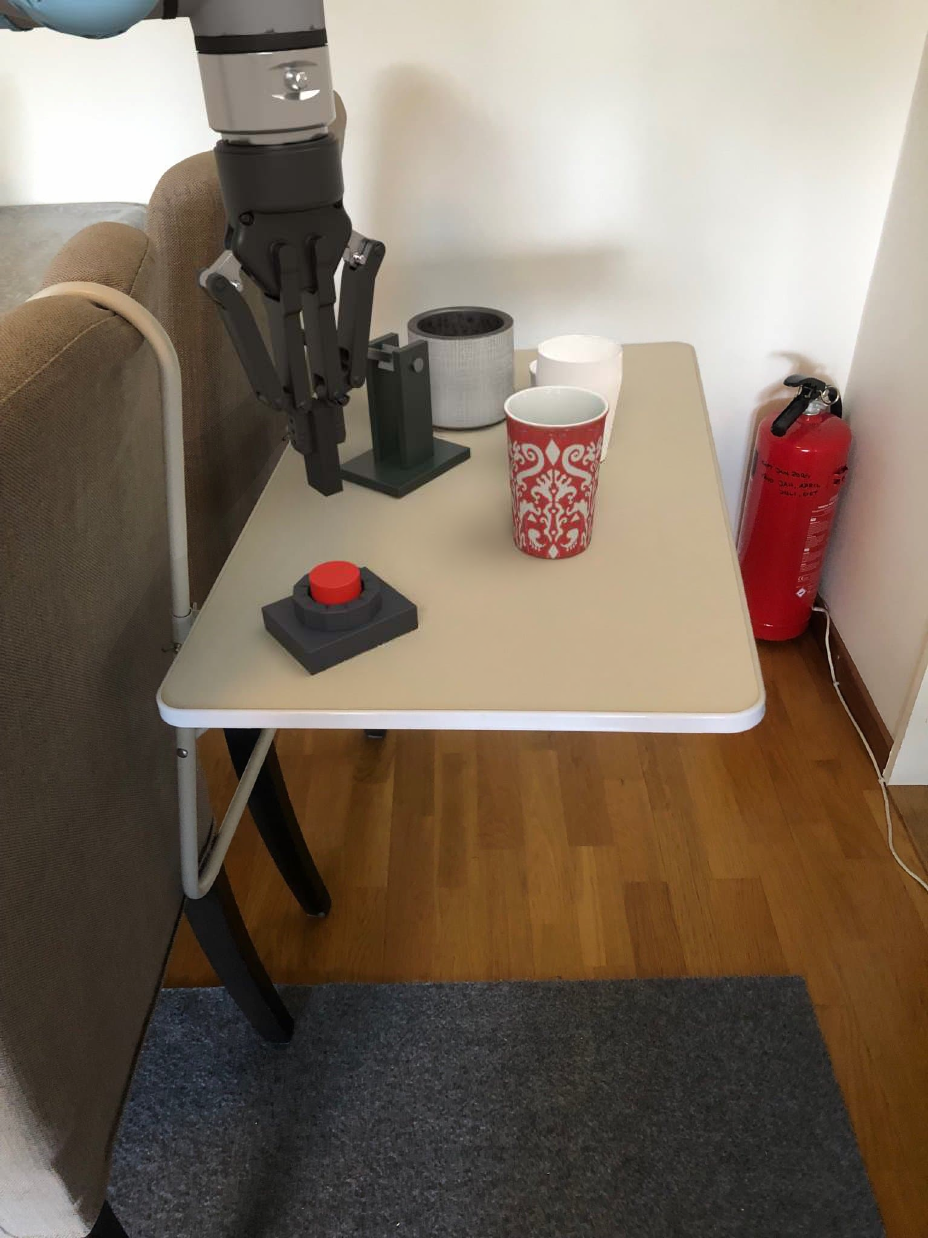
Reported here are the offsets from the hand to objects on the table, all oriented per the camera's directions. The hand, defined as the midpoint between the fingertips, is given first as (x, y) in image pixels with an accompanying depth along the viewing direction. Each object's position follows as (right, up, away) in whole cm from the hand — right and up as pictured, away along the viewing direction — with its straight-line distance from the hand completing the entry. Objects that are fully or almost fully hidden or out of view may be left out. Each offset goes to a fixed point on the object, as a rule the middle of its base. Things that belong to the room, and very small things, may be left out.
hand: (325, 487), depth 68 cm
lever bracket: (+4, +7, +32) cm, 33 cm away
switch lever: (0, +15, +21) cm, 26 cm away
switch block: (0, -11, +7) cm, 13 cm away
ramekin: (+23, +17, +46) cm, 55 cm away
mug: (+19, -2, +19) cm, 27 cm away
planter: (+10, +15, +44) cm, 48 cm away
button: (0, -8, +5) cm, 9 cm away
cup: (+23, +8, +33) cm, 41 cm away
